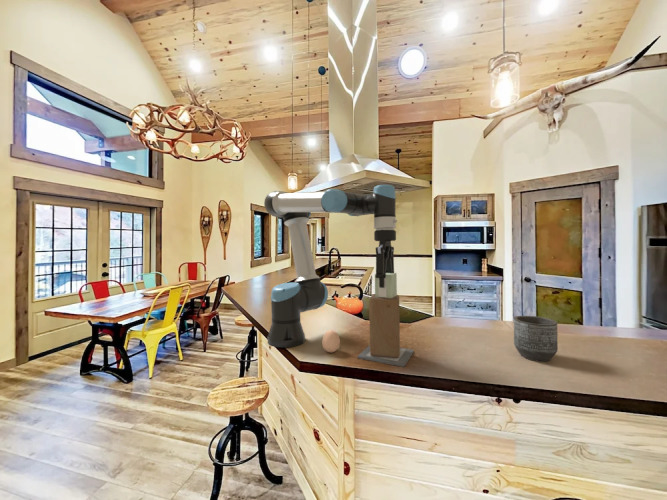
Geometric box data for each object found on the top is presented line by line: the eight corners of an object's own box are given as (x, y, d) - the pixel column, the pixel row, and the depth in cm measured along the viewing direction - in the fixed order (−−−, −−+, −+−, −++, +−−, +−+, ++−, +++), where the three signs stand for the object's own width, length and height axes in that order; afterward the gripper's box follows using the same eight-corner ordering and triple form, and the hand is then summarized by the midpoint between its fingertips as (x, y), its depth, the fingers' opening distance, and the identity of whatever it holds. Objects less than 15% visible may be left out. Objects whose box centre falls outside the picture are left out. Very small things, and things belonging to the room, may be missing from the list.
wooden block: (399, 359, 94) (399, 299, 93) (369, 356, 96) (368, 298, 96) (399, 348, 103) (399, 294, 103) (372, 346, 106) (371, 293, 105)
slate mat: (357, 358, 97) (357, 355, 97) (371, 345, 110) (371, 342, 110) (403, 367, 90) (403, 364, 90) (413, 352, 102) (413, 349, 102)
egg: (327, 347, 108) (327, 327, 108) (343, 350, 105) (342, 329, 105) (318, 353, 102) (318, 331, 102) (335, 356, 99) (335, 334, 99)
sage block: (375, 297, 98) (374, 274, 98) (380, 294, 103) (380, 272, 103) (391, 298, 95) (391, 274, 95) (396, 295, 100) (396, 273, 100)
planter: (567, 362, 91) (567, 323, 91) (535, 365, 89) (534, 325, 89) (534, 349, 103) (534, 314, 103) (505, 351, 101) (505, 316, 101)
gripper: (387, 228, 89) (388, 301, 89) (402, 230, 106) (403, 291, 106) (365, 229, 92) (365, 299, 93) (383, 231, 109) (383, 290, 109)
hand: (385, 295), depth 99 cm, fingers closed on sage block, 6 cm apart
